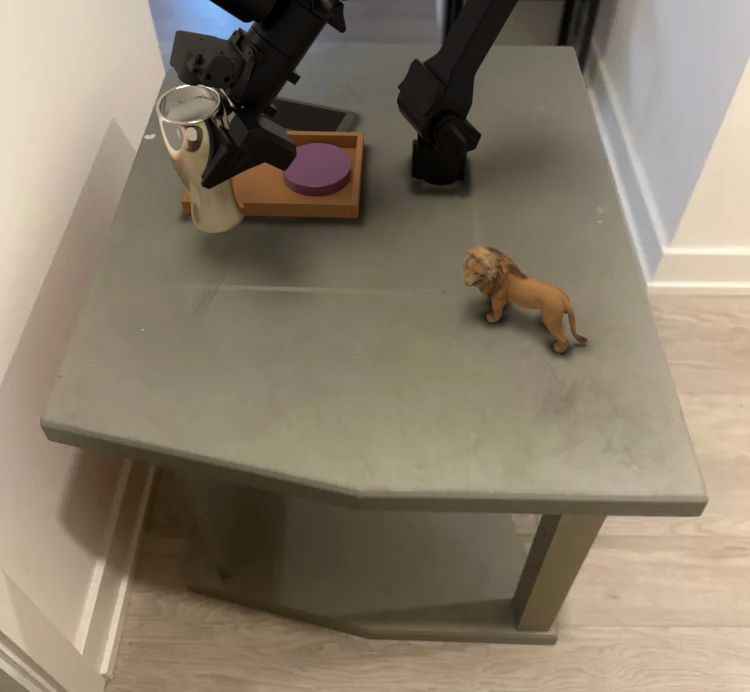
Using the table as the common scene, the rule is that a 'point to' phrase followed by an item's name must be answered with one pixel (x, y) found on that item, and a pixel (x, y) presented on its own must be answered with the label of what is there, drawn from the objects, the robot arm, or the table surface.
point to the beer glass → (199, 153)
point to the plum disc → (318, 170)
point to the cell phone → (310, 116)
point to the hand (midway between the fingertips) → (193, 168)
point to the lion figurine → (518, 291)
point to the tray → (274, 198)
